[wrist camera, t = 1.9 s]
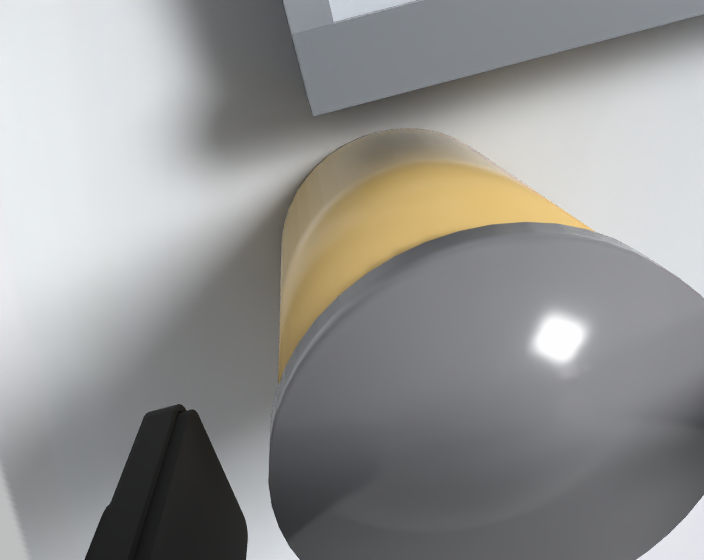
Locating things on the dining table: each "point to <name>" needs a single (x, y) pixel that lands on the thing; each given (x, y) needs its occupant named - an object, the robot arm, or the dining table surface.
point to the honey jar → (474, 369)
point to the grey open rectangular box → (450, 40)
